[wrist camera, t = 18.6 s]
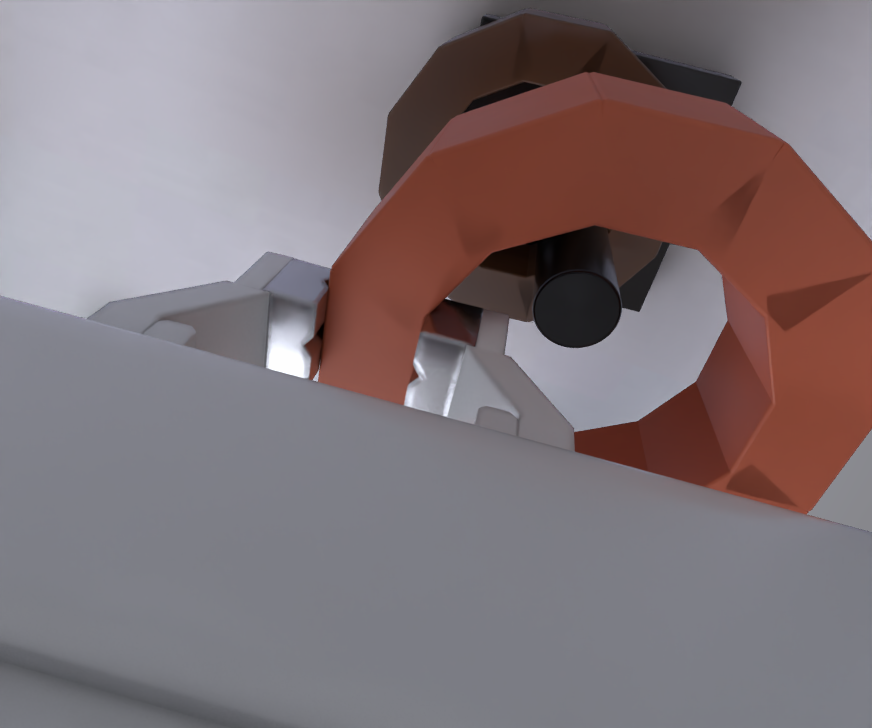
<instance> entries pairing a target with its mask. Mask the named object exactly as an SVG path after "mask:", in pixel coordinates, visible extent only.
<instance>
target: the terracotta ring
mask: <svg viewBox="0 0 872 728" xmlns="http://www.w3.org/2000/svg"><path fill="white" fill-rule="evenodd" d="M594 225H595V226H600V227H604V228H608V229H612V230H616V231H621V232H625V233H629V234H633V235H637V236H641V237H646V238H650V239H654V240H658V241H662V242H667V243H671V244H675V245H679V246H683V247H687V248H692V249H696V250H698V251H699V252H700V253H701V254H702V255H703V256H704V257H705V258H706V259H707V260H708V261H709V262H710V263H711V264H712V265H713V266H714V267H715V268H716V269H717V270H718V271H719V272H720V273H721V274H722V280H723V288H724V296H725V304H726V312H727V320H728V321H727V323H726V325H725V327H724V329H723V330H722V332H721V334H720V336H719V338H718V340H717V342H716V344H715V346H714V348H713V350H712V352H711V354H710V356H709V358H708V360H707V362H706V363H705V365H704V367H703V369H702V371H701V373H700V375H699V377H698V379H697V381H696V382H695V383H693V384H692V385H690V386H689V387H687V388H686V389H684V390H683V391H681V392H680V393H678V394H677V395H675V396H674V397H673V398H671V399H670V400H668V401H667V402H665V403H664V404H662V405H661V406H659V407H658V408H656V409H655V410H653V411H652V412H651V413H649V414H648V415H646V416H645V417H643V418H642V419H640V420H639V421H636V422H630V423H624V424H619V425H613V426H607V427H601V428H596V429H590V430H584V431H578V432H574V445H575V452H578V453H581V454H585V455H589V456H593V457H596V458H600V459H604V460H607V461H611V462H615V463H618V464H622V465H626V466H629V467H633V468H637V469H641V470H644V471H648V472H652V473H655V474H659V475H663V476H666V477H670V478H674V479H677V480H681V481H685V482H689V483H692V484H696V485H700V486H703V487H707V488H711V489H714V490H718V491H722V492H725V493H729V494H733V495H736V496H740V497H744V498H748V499H751V500H755V501H759V502H762V503H766V504H770V505H773V506H777V507H781V508H784V509H788V510H792V511H796V512H799V513H803V514H807V513H808V511H811V510H812V509H813V507H814V506H815V505H816V503H817V502H818V501H819V499H820V498H821V497H822V495H823V494H824V492H825V491H826V490H827V489H828V487H829V486H830V484H831V483H832V482H833V480H834V479H835V478H836V476H837V475H838V474H839V472H840V471H841V470H842V468H843V467H844V466H845V464H846V463H847V462H848V460H849V459H850V457H851V456H852V455H853V453H854V452H855V451H856V449H857V448H858V447H859V445H860V444H861V443H862V441H863V440H864V438H865V437H866V436H867V435H868V433H869V432H870V431H871V429H872V241H871V239H870V238H869V237H868V236H867V235H866V234H865V232H864V231H863V230H862V229H861V228H860V227H859V225H858V224H857V223H856V222H855V221H854V220H853V218H852V217H851V216H850V215H849V214H848V213H847V211H846V210H845V209H844V208H843V207H842V206H841V204H840V203H839V202H838V201H837V200H836V199H835V197H834V196H833V195H832V194H831V193H830V192H829V190H828V189H827V188H826V187H825V186H824V185H823V183H822V182H821V181H820V180H819V179H818V178H817V176H816V175H815V174H814V173H813V172H812V171H811V169H810V168H809V167H808V166H807V165H806V163H805V162H804V161H803V160H802V159H801V158H800V156H799V155H798V154H797V153H796V152H795V151H794V149H793V148H792V147H791V146H790V145H789V144H788V143H786V142H785V141H783V140H782V139H780V138H779V137H777V136H776V135H774V134H773V133H771V132H770V131H768V130H767V129H765V128H764V127H762V126H761V125H759V124H758V123H756V122H755V121H753V120H752V119H750V118H749V117H747V116H746V115H744V114H743V113H741V112H740V111H738V110H737V109H735V108H733V107H731V106H730V105H728V104H727V103H724V102H720V101H715V100H711V99H707V98H703V97H698V96H694V95H690V94H685V93H681V92H677V91H673V90H668V89H664V88H660V87H655V86H651V85H647V84H643V83H638V82H634V81H630V80H625V79H621V78H617V77H613V76H608V75H604V74H600V73H596V72H591V73H588V72H584V73H581V74H578V75H575V76H572V77H569V78H566V79H563V80H560V81H557V82H554V83H552V84H549V85H546V86H543V87H540V88H537V89H534V90H531V91H528V92H525V93H522V94H519V95H516V96H513V97H510V98H507V99H504V100H501V101H498V102H495V103H492V104H489V105H486V106H483V107H481V108H478V109H475V110H472V111H469V112H466V113H463V114H460V115H457V116H455V117H454V118H452V119H451V120H450V121H449V122H448V123H447V124H446V125H445V127H444V128H443V129H442V130H441V131H440V133H439V134H438V135H437V136H436V137H435V138H434V140H433V141H432V142H431V143H430V144H429V146H428V147H427V148H426V149H425V150H424V151H423V153H422V154H421V155H420V156H419V157H418V158H417V160H416V161H415V162H414V163H413V164H412V166H411V167H410V168H409V169H408V170H407V171H406V173H405V174H404V175H403V176H402V177H401V179H400V180H399V181H398V182H397V183H396V184H395V186H394V187H393V188H392V189H391V190H390V192H389V193H388V194H387V195H386V196H385V197H384V199H383V200H382V201H381V202H380V203H379V205H378V206H377V207H376V208H375V209H374V210H373V212H372V213H371V214H370V216H369V217H368V218H367V220H366V221H365V222H364V224H363V225H362V227H361V228H360V229H359V231H358V232H357V233H356V235H355V236H354V237H353V239H352V240H351V241H350V243H349V244H348V245H347V247H346V248H345V249H344V251H343V252H342V253H341V255H340V256H339V257H338V259H337V260H336V261H335V263H334V264H333V266H332V269H331V270H330V276H329V286H328V288H329V293H328V302H327V310H326V319H325V323H324V332H323V343H322V350H321V360H320V369H319V378H318V382H320V383H324V384H327V385H331V386H335V387H338V388H342V389H346V390H349V391H353V392H357V393H360V394H364V395H368V396H371V397H375V398H379V399H383V400H386V401H390V402H394V403H397V404H401V405H404V401H405V396H406V392H407V387H408V383H409V381H410V378H411V375H412V372H413V369H414V366H413V360H414V356H415V352H416V348H417V343H418V339H419V335H420V331H421V329H422V326H423V323H424V320H425V318H426V315H427V314H430V313H431V312H432V311H433V310H434V309H435V308H436V307H437V306H438V305H439V304H440V303H441V302H442V301H443V300H444V299H445V298H446V297H447V296H448V295H449V294H450V293H451V292H452V291H453V290H454V289H455V288H456V287H457V286H458V285H459V284H460V283H461V282H462V281H463V280H464V279H465V278H466V277H468V276H469V275H470V274H471V273H472V272H473V271H474V270H475V269H476V268H477V267H478V266H479V265H480V264H481V263H482V262H483V261H484V260H485V259H486V258H487V257H488V256H489V255H490V254H491V253H492V252H496V251H500V250H503V249H507V248H511V247H515V246H518V245H522V244H526V243H530V242H533V241H537V240H541V239H545V238H548V237H552V236H556V235H560V234H564V233H567V232H571V231H575V230H579V229H582V228H586V227H590V226H594Z"/></svg>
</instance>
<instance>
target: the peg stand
mask: <svg viewBox="0 0 872 728" xmlns="http://www.w3.org/2000/svg"><path fill="white" fill-rule="evenodd" d="M501 18H502V17H499V16H495V15H491V14H486V15H484V16H483V17H482V20H481V25H480V27H481V26H483V25H486V24H488V23H491V22H493V21H496V20H498V19H501ZM631 51H632V50H631ZM632 52H633V53H634V54H635V55H636V56H637V58H638V59H639V60H640V61H641V62H642V63H643V64H644V65H645V66H646V67H647V68H648V69H649V70H650V71H651V73H652V74H653V75H654V76H655V77H656V78H657V79H658V80H659V81H660V82H661V83H662V84H663V85H664V86H665V88H666V89H668V90H673V91H677V92H681V93H685V94H690V95H694V96H698V97H703V98H707V99H711V100H715V101H720V102H724V103H727V104H728V105H730V106H732V104H733V101H734V99H735V97H736V95H737V92H738V90H739V88H740V86H741V83H742V82H741V81H740V80H738V79H736V78H734V77H733V76H731V75H727V74H723V73H719V72H715V71H711V70H707V69H703V68H699V67H695V66H691V65H688V64H684V63H680V62H676V61H672V60H668V59H664V58H660V57H656V56H652V55H648V54H644V53H640V52H636V51H632ZM540 87H543V86H541V85H536V84H531V83H527V82H523V83H520V84H517V85H515V86H512V87H509V88H506V89H503V90H501V91H498V92H495V93H492V94H490V95H487V96H484V97H481V98H478V99H476V100H473V101H472V103H471V104H470V105H469V106H468V107H467V109H466V110H465V111H464V112H463V113H466V112H469V111H472V110H475V109H478V108H481V107H483V106H486V105H489V104H492V103H495V102H498V101H501V100H504V99H507V98H510V97H513V96H516V95H519V94H522V93H525V92H528V91H531V90H534V89H537V88H540ZM536 243H537V252H536V266H535V279H534V293H533V306H532V313H533V319H534V322H535V324H536V326H537V328H538V329H539V331H540V332H541V333H542V334H543V335H544V336H545V337H546V338H547V339H549V340H550V341H552V342H553V343H555V344H558V345H561V346H564V347H569V348H582V347H588V346H591V345H594V344H596V343H598V342H600V341H602V340H603V339H605V338H606V337H607V336H609V335H610V334H611V332H612V331H613V330H614V329H615V327H616V326H617V324H618V322H619V320H620V317H621V313H622V307H623V308H626V309H630V310H634V311H638V312H639V311H640V309H641V307H642V305H643V303H644V300H645V298H646V296H647V294H648V291H649V289H650V287H651V285H652V282H653V280H654V278H655V276H656V274H657V271H658V269H659V267H660V265H661V262H662V260H663V258H664V256H665V253H666V251H667V249H668V247H669V244H670V243H667V242H662V244H661V247H660V249H659V252H658V254H657V255H656V257H655V258H654V259H653V260H652V261H650V262H649V263H648V264H647V265H646V266H644V267H643V268H642V269H641V270H640V271H639V272H637V273H636V274H635V275H634V276H633V277H631V278H630V279H629V280H628V281H627V282H625V283H624V284H623V285H622V286H621V287H619V286H618V281H617V276H616V271H615V266H614V261H613V256H612V251H611V246H610V241H609V236H608V230H607V228H604V227H600V226H595V225H594V226H590V227H586V228H582V229H579V230H575V231H571V232H567V233H564V234H560V235H556V236H552V237H548V238H545V239H541V240H537V241H533V242H530V243H526V244H527V245H533V244H536Z"/></svg>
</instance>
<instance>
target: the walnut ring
mask: <svg viewBox="0 0 872 728" xmlns="http://www.w3.org/2000/svg"><path fill="white" fill-rule="evenodd" d="M584 72H588V73H591V72H596V73H600V74H604V75H608V76H613V77H617V78H621V79H625V80H630V81H634V82H638V83H643V84H647V85H651V86H655V87H660V88H664V89H666V88H665V86H664V85H663V84H662V83H661V82H660V81H659V80H658V79H657V78H656V77H655V76H654V75H653V74H652V73H651V71H650V70H649V69H648V68H647V67H646V66H645V65H644V64H643V63H642V62H641V61H640V60H639V59H638V58H637V56H636V55H635V54H634V53H633V52H632V51H631V50H630V49H629V48H628V47H627V46H626V45H625V44H624V43H623V41H622V40H621V39H620V38H619V37H618V36H617V35H616V34H615V33H614V32H613V31H612V30H611V29H610V28H609V27H608V26H607V25H605V24H602V23H598V22H593V21H588V20H584V19H579V18H574V17H569V16H565V15H560V14H555V13H551V12H546V11H541V10H536V9H532V8H528V9H524V10H521V11H519V12H516V13H514V14H511V15H508V16H506V17H503V18H501V19H498V20H496V21H493V22H491V23H488V24H486V25H483V26H481V27H478V28H476V29H473V30H471V31H468V32H466V33H463V34H461V35H458V36H456V37H454V38H452V39H451V40H449V41H448V42H446V43H444V44H443V45H441V46H439V47H438V49H437V50H436V51H435V53H434V54H433V55H432V57H431V58H430V59H429V61H428V62H427V63H426V65H425V66H424V67H423V69H422V70H421V71H420V73H419V74H418V75H417V77H416V78H415V79H414V81H413V82H412V83H411V85H410V86H409V87H408V88H407V90H406V91H405V92H404V94H403V95H402V96H401V98H400V99H399V100H398V102H397V103H396V104H395V106H394V107H393V108H392V110H391V111H390V112H389V115H388V120H387V128H386V136H385V144H384V152H383V160H382V168H381V176H380V184H379V195H380V198H381V200H383V199H384V197H385V196H386V195H387V194H388V193H389V192H390V190H391V189H392V188H393V187H394V186H395V184H396V183H397V182H398V181H399V180H400V179H401V177H402V176H403V175H404V174H405V173H406V171H407V170H408V169H409V168H410V167H411V166H412V164H413V163H414V162H415V161H416V160H417V158H418V157H419V156H420V155H421V154H422V153H423V151H424V150H425V149H426V148H427V147H428V146H429V144H430V143H431V142H432V141H433V140H434V138H435V137H436V136H437V135H438V134H439V133H440V131H441V130H442V129H443V128H444V127H445V125H446V124H447V123H448V122H449V121H450V120H451V119H452V118H454V117H455V116H457V115H460V114H463V112H464V111H465V110H466V109H467V107H468V106H469V105H470V104H471V103H472V101H473V100H476V99H478V98H481V97H484V96H487V95H490V94H492V93H495V92H498V91H501V90H503V89H506V88H509V87H512V86H515V85H517V84H520V83H523V82H527V83H531V84H536V85H541V86H546V85H549V84H552V83H554V82H557V81H560V80H563V79H566V78H569V77H572V76H575V75H578V74H581V73H584ZM607 230H608V236H609V241H610V246H611V251H612V256H613V261H614V266H615V271H616V276H617V281H618V286H619V287H621V286H622V285H623V284H624V283H625V282H627V281H628V280H629V279H630V278H631V277H633V276H634V275H635V274H636V273H637V272H639V271H640V270H641V269H642V268H643V267H644V266H646V265H647V264H648V263H649V262H650V261H652V260H653V259H654V258H655V257H656V255H657V254H658V252H659V249H660V247H661V244H662V241H658V240H654V239H650V238H646V237H641V236H637V235H633V234H629V233H625V232H621V231H616V230H612V229H608V228H607ZM536 252H537V243H536V244H533V245H527V244H522V245H518V246H515V247H511V248H507V249H503V250H500V251H496V252H492V253H491V254H490V255H489V256H488V257H487V258H486V259H485V260H484V261H483V262H482V263H481V264H480V265H479V266H478V267H477V268H476V269H475V270H474V271H473V272H472V273H471V274H470V275H469V276H468V277H466V278H465V279H464V280H463V281H462V282H461V283H460V284H459V285H458V286H457V287H456V288H455V289H454V290H453V291H452V292H451V293H450V294H449V295H448V297H449V298H450V299H451V300H452V301H456V302H460V303H464V304H468V305H472V306H476V307H480V308H483V310H484V309H485V310H490V311H494V312H499V313H504V314H508V315H509V316H510V317H509V318H511V319H516V320H520V321H524V322H530V321H534V319H533V313H532V306H533V293H534V279H535V266H536Z"/></svg>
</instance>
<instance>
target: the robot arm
mask: <svg viewBox="0 0 872 728" xmlns="http://www.w3.org/2000/svg"><path fill="white" fill-rule="evenodd" d="M330 270H331V269H330V268H327V267H323V266H319V265H316V264H312V263H309V262H305V261H302V260H298V259H294V258H293V257H290V256H285V255H281V254H277V253H272V252H266V253H265V254H264V255H263V256H262V257H261V258H260V259H259V260H258V261H257V262H255V263H254V264H253V265H252V266H251V267H250V268H249V269H248V270H247V271H246V272H245V273H244V274H243V275H242V276H240V277H239V278H238V279H237V280H236V281H235V282H230V281H222V282H216V283H211V284H206V285H200V286H195V287H189V288H184V289H178V290H173V291H168V292H162V293H157V294H151V295H146V296H140V297H135V298H130V299H124V300H119V301H113V302H109V303H108V304H107V305H105V306H104V307H102V308H101V309H100V310H98V311H97V312H95V313H94V314H93V315H91V316H90V317H88V318H87V319H85V318H81V317H77V316H74V315H70V314H66V313H63V312H59V311H55V310H52V309H48V308H44V307H40V306H37V305H33V304H29V303H26V302H22V301H18V300H15V299H11V298H7V297H4V296H0V728H872V532H869V531H865V530H862V529H858V528H855V527H851V526H847V525H843V524H840V523H836V522H832V521H829V520H825V519H821V518H817V517H814V516H810V515H807V514H803V513H799V512H796V511H792V510H788V509H784V508H781V507H777V506H773V505H770V504H766V503H762V502H759V501H755V500H751V499H748V498H744V497H740V496H736V495H733V494H729V493H725V492H722V491H718V490H714V489H711V488H707V487H703V486H700V485H696V484H692V483H689V482H685V481H681V480H677V479H674V478H670V477H666V476H663V475H659V474H655V473H652V472H648V471H644V470H641V469H637V468H633V467H629V466H626V465H622V464H618V463H615V462H611V461H607V460H604V459H600V458H596V457H593V456H589V455H585V454H581V453H578V452H575V445H574V428H573V427H572V426H571V424H570V423H569V422H568V421H567V420H566V419H565V418H564V416H563V415H562V414H561V413H560V412H559V411H558V410H557V409H556V407H555V406H554V405H553V404H552V403H551V402H550V401H549V399H548V398H547V397H546V396H545V395H544V394H543V393H542V392H541V390H540V389H539V388H538V387H537V386H536V385H535V384H534V383H533V381H532V380H531V379H530V378H529V377H528V376H527V375H526V373H525V372H524V371H523V370H522V369H521V368H520V367H519V366H518V364H517V363H516V362H515V361H514V360H513V359H512V358H511V357H510V356H506V355H504V354H505V346H506V339H507V331H508V324H509V317H510V316H509V315H508V314H504V313H499V312H494V311H490V310H485V309H484V310H483V308H480V307H476V306H472V305H468V304H464V303H460V302H456V301H452V300H447V299H444V300H443V301H442V302H441V303H440V304H439V305H438V306H437V307H436V308H435V309H434V310H433V311H432V312H431V313H430V314H427V315H426V318H425V320H424V323H423V326H422V329H421V331H420V335H419V339H418V343H417V348H416V352H415V356H414V360H413V366H414V369H413V372H412V375H411V378H410V381H409V383H408V387H407V392H406V396H405V401H404V405H401V404H397V403H394V402H390V401H386V400H383V399H379V398H375V397H371V396H368V395H364V394H360V393H357V392H353V391H349V390H346V389H342V388H338V387H335V386H331V385H327V384H324V383H320V382H316V381H313V378H314V376H315V375H316V373H317V372H318V370H319V365H320V359H321V350H322V343H323V332H324V323H325V319H326V310H327V302H328V293H329V288H328V286H329V276H330Z"/></svg>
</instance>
